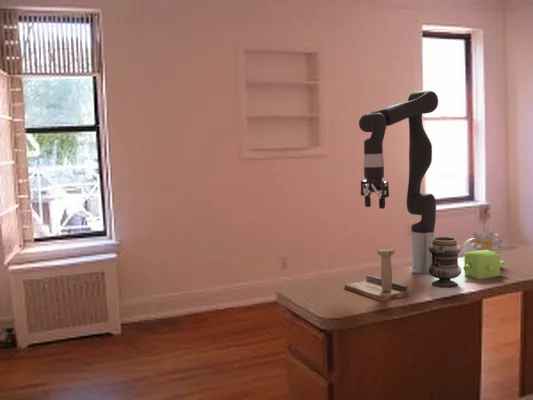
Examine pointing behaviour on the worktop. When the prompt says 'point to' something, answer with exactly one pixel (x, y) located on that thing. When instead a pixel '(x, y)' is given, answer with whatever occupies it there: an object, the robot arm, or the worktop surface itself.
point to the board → (377, 289)
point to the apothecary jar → (444, 261)
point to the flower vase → (482, 242)
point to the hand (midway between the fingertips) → (374, 207)
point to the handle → (386, 268)
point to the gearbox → (482, 264)
